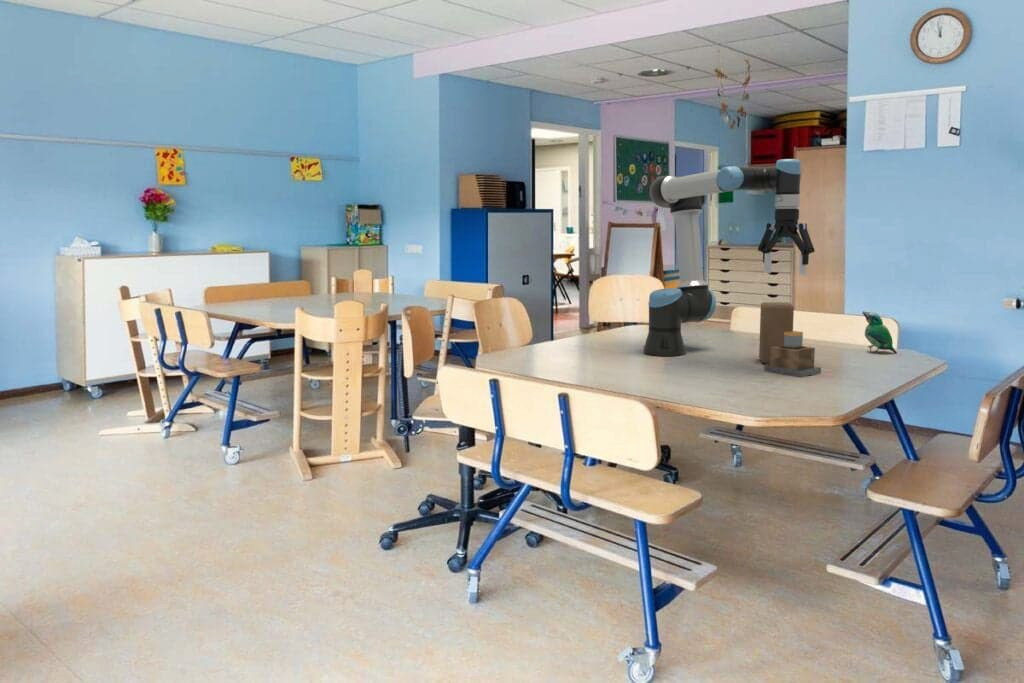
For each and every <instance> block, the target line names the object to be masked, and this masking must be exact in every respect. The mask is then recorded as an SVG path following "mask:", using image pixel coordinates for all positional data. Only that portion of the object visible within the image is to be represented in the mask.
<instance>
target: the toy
mask: <svg viewBox="0 0 1024 683" xmlns="http://www.w3.org/2000/svg"><path fill="white" fill-rule="evenodd" d="M861 314H862V315H863V316H864V317H865V320H866V322H867V323H868V324H867V325H865V326H866V327H865V330H864V337H865V338H866V340H867V341H868V342H869V343H870V344H871V345H867V348H869V350H870V352H871V351H872V348H873V347H875V348H876V350H874V351H873V352H874V353H876V354H878V353H879V352H878V351H879V350H884V351H887V350H888V351H891V352H893V353H894V354H897V353H898V352H897V351H896V349H894V347H893V337H892V335H891V332H890V330H889V328H888V327H887V326H886V325H884V323H883V319H882V318H881V316H880V314H878V313H876V312H871V311H869V312H868V311H864V310H863V311H862V313H861Z"/></svg>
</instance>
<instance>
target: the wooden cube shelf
mask: <svg viewBox="0 0 1024 683" xmlns="http://www.w3.org/2000/svg"><path fill="white" fill-rule="evenodd" d="M815 352H816V347H811V346H804V345H802V349H796V350H794V349H787V348H784V345H781V346H775V347H771V360H770V363H769V364H770V366H776V367H782V368H788V369H794V370H797V369H802V368H808V367H813V366H815V356H816V355H815V354H816V353H815Z"/></svg>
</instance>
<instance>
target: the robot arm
mask: <svg viewBox="0 0 1024 683" xmlns="http://www.w3.org/2000/svg"><path fill="white" fill-rule="evenodd" d="M775 164H776V165H775V166H765V167H764V166H734V165H731V166H723V167H722V168H721V169H716V170H710V171H705V172H699V173H694V174H689V175H662V176H659V177H657V178H656V179H655V180H653V181H652V183H651V185H650V187H649V197H650V199H651V201H652V202H653V204H655V205H656V206H657V207H660V208H665V209H669V210H670V215H671V216H672V217H673V218H674V221H675V234H676V246H677V247H676V248H677V249H676V250H677V260H678V272H679V273H678V274H679V283H678V284H677V285H676V287H669V288H660V289H656V290H653V291H652V292H651V293H650V294H649V298H648V333H647V337H646V339H645V344H644V345H643V354H645V355H647V356H648V355H649V356H656V357H676V356H683V355H686V349H687V348H686V346H685V345H684V344H685V343H684V340H683V335H682V324H685V323H686V324H687V323H700V322H703V321H706V320H709V319H710V318H711V317H712V316H713V314H714V312H715V311H716V308H717V307H716V306H717V299H716V296H715V294H714V292H713V291H712V290H710V289H709V284H708V283H707V282H706V281H705V280H704V271H703V270H704V269H703V258H702V257H703V256H702V246H701V231H700V219H699V218H700V217H699V216H700V214H701V213H702V212H703V207H704V206H705V204H706V203H707V200H708V198H709V196H708V195H714V194H720V193H726V192H734V191H753V192H758V191H759V192H761V191H775V192H774V194H775V196H774V197H775V198H774V207H775V208H776V209H775V210H774V220H775V222H768V223H767V224H766V229H765V230H764V231H765V232H764V233H763V236H762V239H761V241H760V243H759V246H758V248H757V251H758V252H761V253H762V262H763V264H764V266H763V267H764V268H763V269H764V270H763V273H764V274H771V273H772V260H773V258H772V257H773V253H771V252H772V250H773V249H774V247H775V246H776V244H777V243H778V242H779V240H780V239H781V238H790V239H791V240H792V241H793V242H794V244H795V245H796V247H797V249H798V250H799V251H800V254H799V256H798V257H799V259H798V262H799V264H798V276H806V275H807V266H808V265H809V260H810V259H809V257H810V256H809V255H810V254H812V253H815V251H816V250H815V246H814V245H813V242H812V240H811V236H810V234H809V232H808V224H807V223H806V222H805V223H804V222H800V223H799V219H800V209H799V208H798V207H800V203H801V202H800V200H801V196H800V193H801V192H800V189H801V178H802V177H801V175H802V171H801V166H802V165H801V161H800V160H799V159H797V158H784V159H783V158H781V159H777V160H776V162H775ZM798 231H799V232H798Z"/></svg>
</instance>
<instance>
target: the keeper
mask: <svg viewBox="0 0 1024 683" xmlns="http://www.w3.org/2000/svg"><path fill="white" fill-rule="evenodd" d="M803 339H804V332H803V331H797V330H793V331H787V332H784V348H787V349H794V350H796V349H802V346H803V342H804V341H803ZM763 368H764V370H763V372H768V373H775V374H780V373H781V374H780V375H785V374H786V375H787V376H793V377H797V378H803V377H804V376H805V377H809V375H810V376H814V374H815V375H820V374H821V373H822V372H821V371H822V370H821V369H822V366H816V365H814V366H813V367H808V368H802V369H797V370H794V369H788V368H782V367H776V366H770V363H764V366H763Z"/></svg>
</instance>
